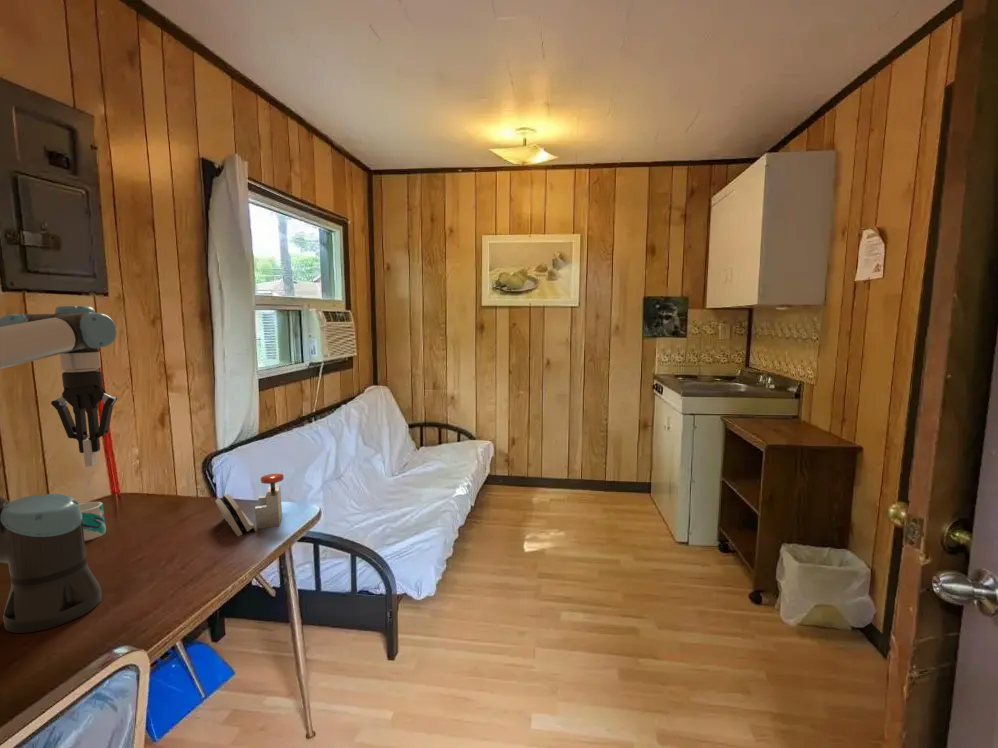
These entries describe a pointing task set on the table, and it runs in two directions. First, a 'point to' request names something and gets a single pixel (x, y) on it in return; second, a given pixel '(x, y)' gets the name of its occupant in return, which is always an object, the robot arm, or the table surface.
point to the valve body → (269, 503)
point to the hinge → (234, 515)
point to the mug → (92, 520)
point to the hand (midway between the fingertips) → (91, 464)
